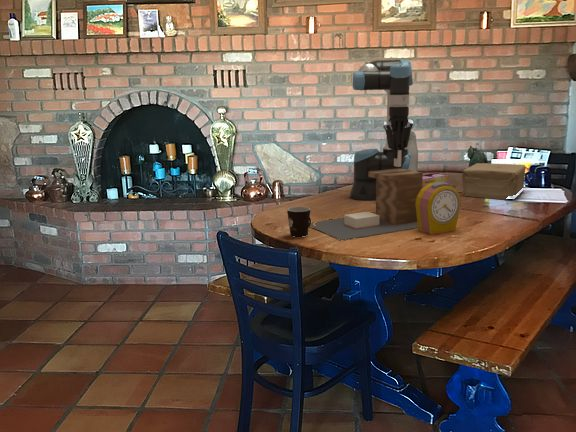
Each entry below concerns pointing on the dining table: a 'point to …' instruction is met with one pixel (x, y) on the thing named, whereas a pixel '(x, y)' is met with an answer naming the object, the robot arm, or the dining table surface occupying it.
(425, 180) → the gum box
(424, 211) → the alarm clock
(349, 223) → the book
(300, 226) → the coffee mug
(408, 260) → the dining table surface
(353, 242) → the dining table surface
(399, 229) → the mat
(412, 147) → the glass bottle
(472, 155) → the ceramic cat
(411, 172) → the stand
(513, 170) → the paper package
